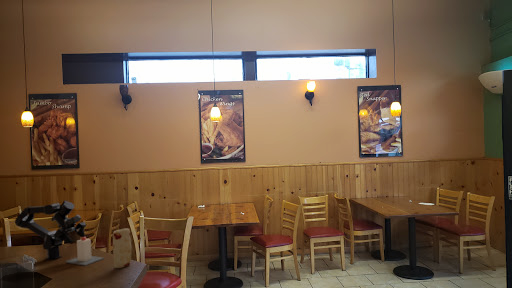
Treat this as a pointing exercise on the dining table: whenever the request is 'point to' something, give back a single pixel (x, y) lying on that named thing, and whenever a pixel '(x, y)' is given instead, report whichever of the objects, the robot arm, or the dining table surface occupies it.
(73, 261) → the placemat
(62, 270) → the dining table surface
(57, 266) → the dining table surface
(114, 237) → the food model
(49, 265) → the dining table surface
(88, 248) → the big red button box
